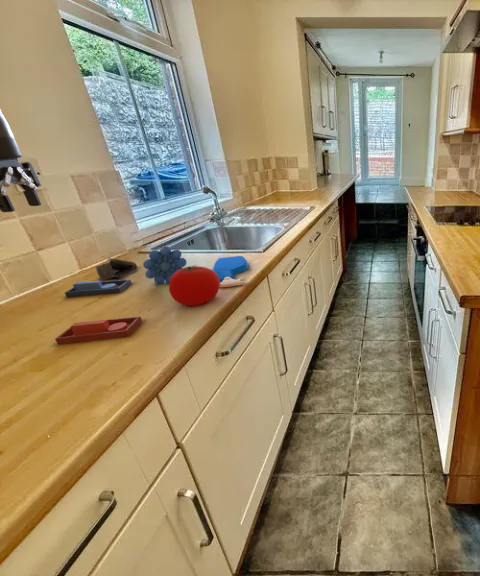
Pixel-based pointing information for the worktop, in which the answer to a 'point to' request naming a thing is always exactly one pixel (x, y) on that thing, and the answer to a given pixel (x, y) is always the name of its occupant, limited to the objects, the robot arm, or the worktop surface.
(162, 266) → the blue flower
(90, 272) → the worktop surface
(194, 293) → the tomato
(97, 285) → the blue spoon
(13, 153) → the robot arm
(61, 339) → the red tray
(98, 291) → the blue tray
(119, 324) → the red long stepped block
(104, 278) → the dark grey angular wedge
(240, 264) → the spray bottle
